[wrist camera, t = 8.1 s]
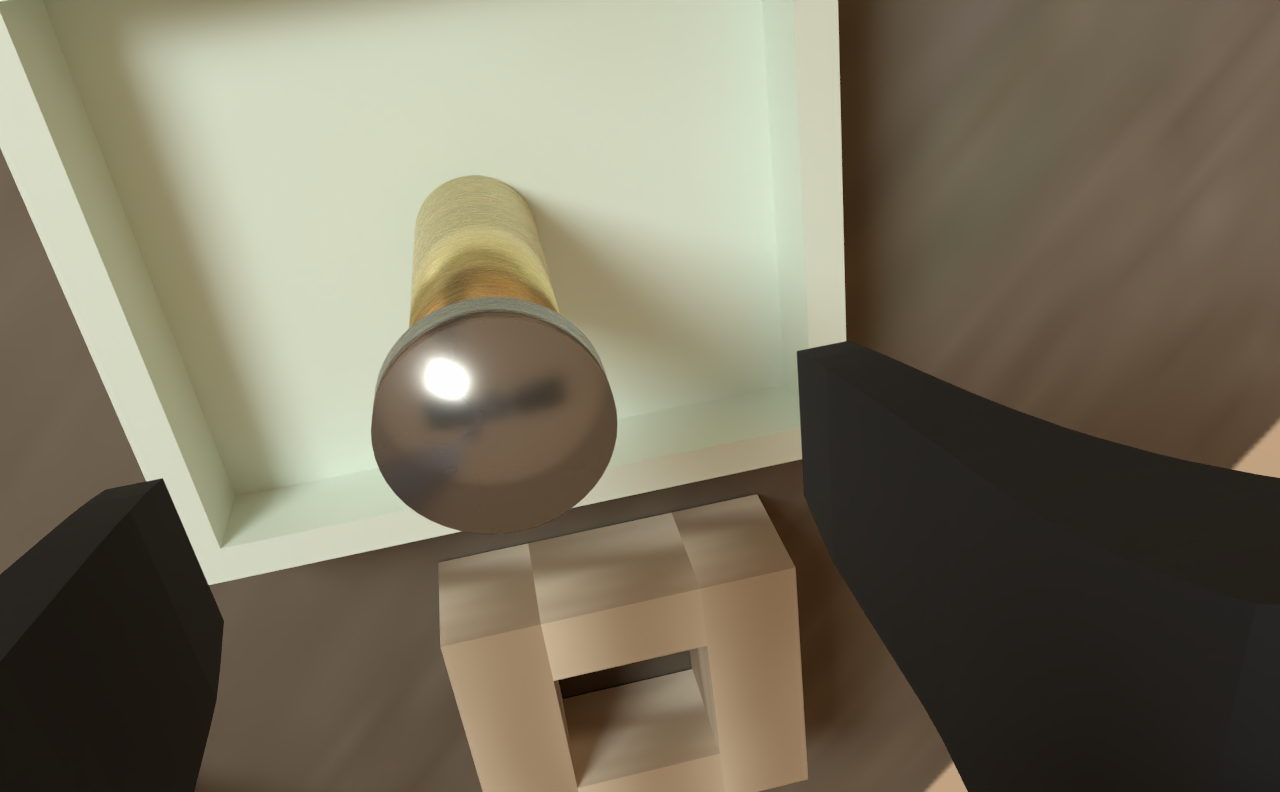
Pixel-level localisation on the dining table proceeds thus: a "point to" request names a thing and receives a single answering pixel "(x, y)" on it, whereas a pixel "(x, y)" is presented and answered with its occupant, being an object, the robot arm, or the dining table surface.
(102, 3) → the tray
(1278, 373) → the dining table surface
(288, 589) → the dining table surface
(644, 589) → the lock block
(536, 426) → the pin
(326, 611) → the dining table surface
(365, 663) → the dining table surface
